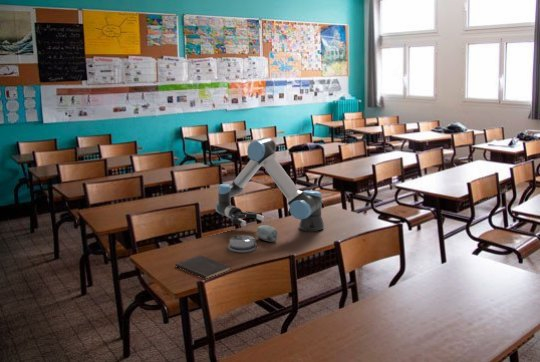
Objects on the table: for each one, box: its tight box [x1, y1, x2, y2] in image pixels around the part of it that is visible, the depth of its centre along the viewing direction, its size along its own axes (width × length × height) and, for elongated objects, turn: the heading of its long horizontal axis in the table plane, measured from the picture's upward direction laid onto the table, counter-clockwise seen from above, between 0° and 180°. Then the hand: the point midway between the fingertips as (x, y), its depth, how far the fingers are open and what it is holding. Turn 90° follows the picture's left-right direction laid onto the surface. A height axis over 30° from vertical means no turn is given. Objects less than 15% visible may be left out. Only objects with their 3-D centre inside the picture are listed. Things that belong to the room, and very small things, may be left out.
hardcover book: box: [175, 254, 231, 280], centre depth 256 cm, size 16×23×2 cm
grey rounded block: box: [256, 224, 278, 243], centre depth 295 cm, size 14×10×10 cm
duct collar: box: [227, 235, 258, 254], centre depth 283 cm, size 16×16×5 cm
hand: (254, 221), depth 302 cm, fingers open, 13 cm apart
